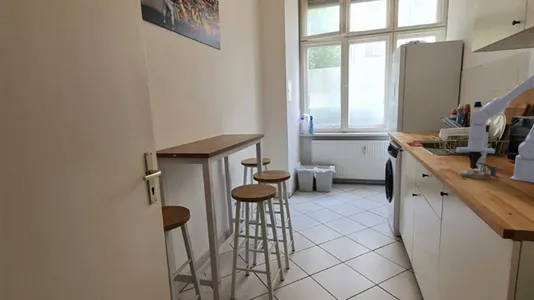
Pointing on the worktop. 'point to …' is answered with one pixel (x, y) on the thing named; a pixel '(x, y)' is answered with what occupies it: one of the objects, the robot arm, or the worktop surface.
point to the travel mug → (483, 157)
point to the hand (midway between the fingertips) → (472, 168)
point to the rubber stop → (493, 170)
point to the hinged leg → (480, 168)
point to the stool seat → (476, 174)
